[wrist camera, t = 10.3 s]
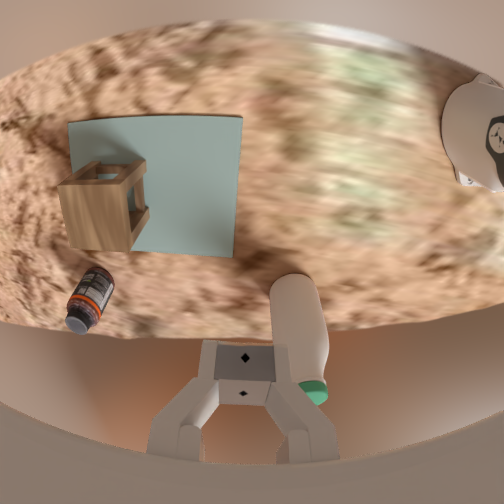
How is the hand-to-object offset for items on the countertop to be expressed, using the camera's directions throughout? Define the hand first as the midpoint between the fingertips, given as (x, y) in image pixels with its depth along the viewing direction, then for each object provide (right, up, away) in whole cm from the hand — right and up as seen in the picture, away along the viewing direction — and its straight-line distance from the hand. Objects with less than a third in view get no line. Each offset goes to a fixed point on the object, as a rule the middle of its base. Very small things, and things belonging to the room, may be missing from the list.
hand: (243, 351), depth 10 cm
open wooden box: (-14, +10, +23) cm, 28 cm away
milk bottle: (+7, -3, +37) cm, 38 cm away
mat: (-14, +12, +27) cm, 32 cm away
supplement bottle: (-26, -1, +36) cm, 44 cm away
